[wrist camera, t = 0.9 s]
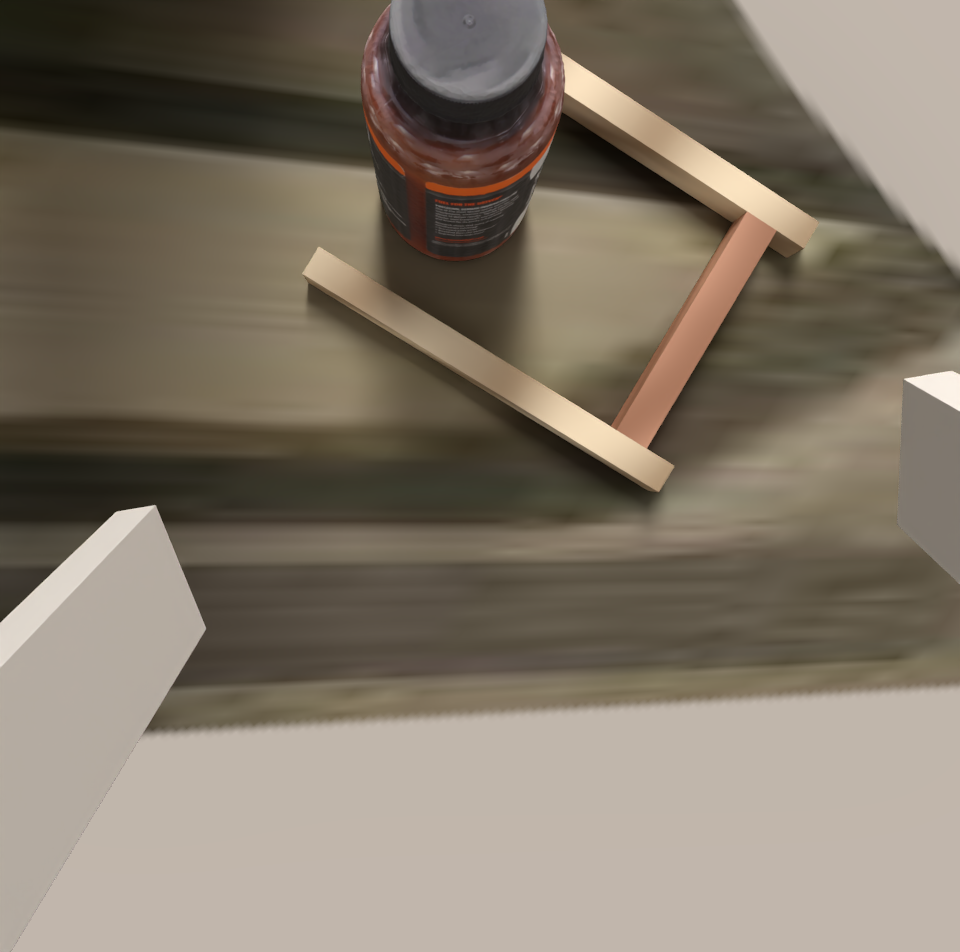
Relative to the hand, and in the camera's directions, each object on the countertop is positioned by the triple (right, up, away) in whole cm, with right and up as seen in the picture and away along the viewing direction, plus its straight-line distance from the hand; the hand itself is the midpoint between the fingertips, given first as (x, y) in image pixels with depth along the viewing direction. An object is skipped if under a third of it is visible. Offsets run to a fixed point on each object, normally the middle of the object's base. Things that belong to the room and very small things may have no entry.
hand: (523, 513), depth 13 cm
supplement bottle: (-2, +12, +16) cm, 21 cm away
